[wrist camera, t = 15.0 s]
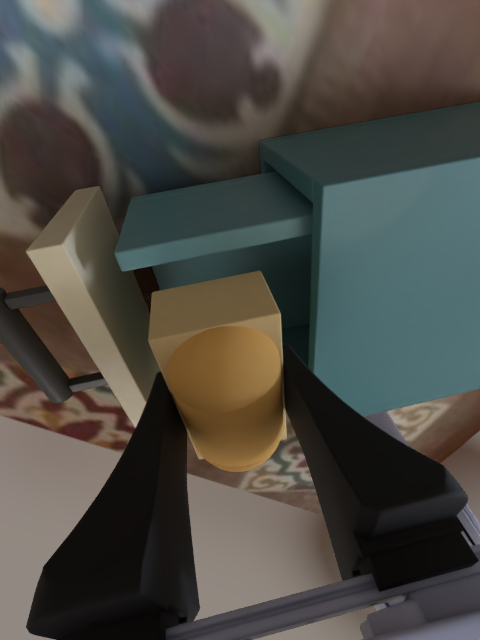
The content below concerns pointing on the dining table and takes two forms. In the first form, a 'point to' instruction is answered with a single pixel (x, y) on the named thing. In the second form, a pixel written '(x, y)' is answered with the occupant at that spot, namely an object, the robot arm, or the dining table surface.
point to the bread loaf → (223, 366)
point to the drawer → (157, 274)
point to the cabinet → (391, 253)
